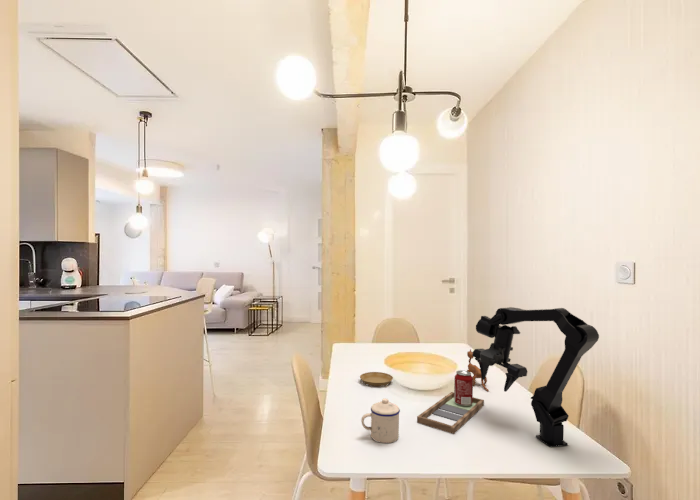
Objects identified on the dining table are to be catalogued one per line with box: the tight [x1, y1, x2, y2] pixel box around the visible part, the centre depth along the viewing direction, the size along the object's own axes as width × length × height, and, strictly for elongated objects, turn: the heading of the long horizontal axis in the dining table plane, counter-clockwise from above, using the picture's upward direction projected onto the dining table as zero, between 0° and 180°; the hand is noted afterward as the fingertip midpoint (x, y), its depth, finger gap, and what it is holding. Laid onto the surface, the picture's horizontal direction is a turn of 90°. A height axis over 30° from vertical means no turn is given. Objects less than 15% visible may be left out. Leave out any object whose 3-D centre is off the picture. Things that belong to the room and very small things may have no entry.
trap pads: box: [431, 404, 468, 422], centre depth 135 cm, size 11×11×1 cm
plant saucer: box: [359, 371, 394, 388], centre depth 167 cm, size 15×15×3 cm
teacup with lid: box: [360, 398, 401, 444], centre depth 117 cm, size 12×9×12 cm
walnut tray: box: [416, 391, 485, 435], centre depth 135 cm, size 30×13×2 cm, turn 143°
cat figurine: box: [466, 348, 489, 392], centre depth 166 cm, size 18×7×14 cm, turn 11°
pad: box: [445, 398, 476, 411], centre depth 143 cm, size 8×11×1 cm
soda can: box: [453, 369, 474, 407], centre depth 143 cm, size 7×7×12 cm
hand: (493, 385), depth 132 cm, fingers open, 9 cm apart
